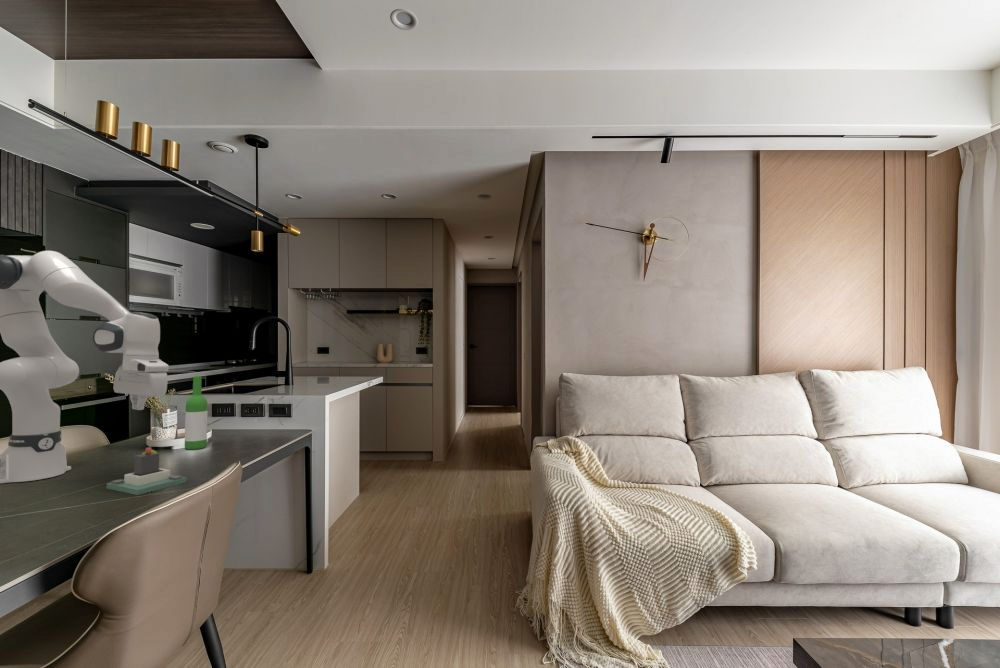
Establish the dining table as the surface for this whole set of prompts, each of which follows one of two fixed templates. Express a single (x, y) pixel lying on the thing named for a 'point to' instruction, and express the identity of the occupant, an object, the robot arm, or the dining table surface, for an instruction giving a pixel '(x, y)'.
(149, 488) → the header board
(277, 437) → the dining table surface
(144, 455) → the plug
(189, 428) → the wine bottle
